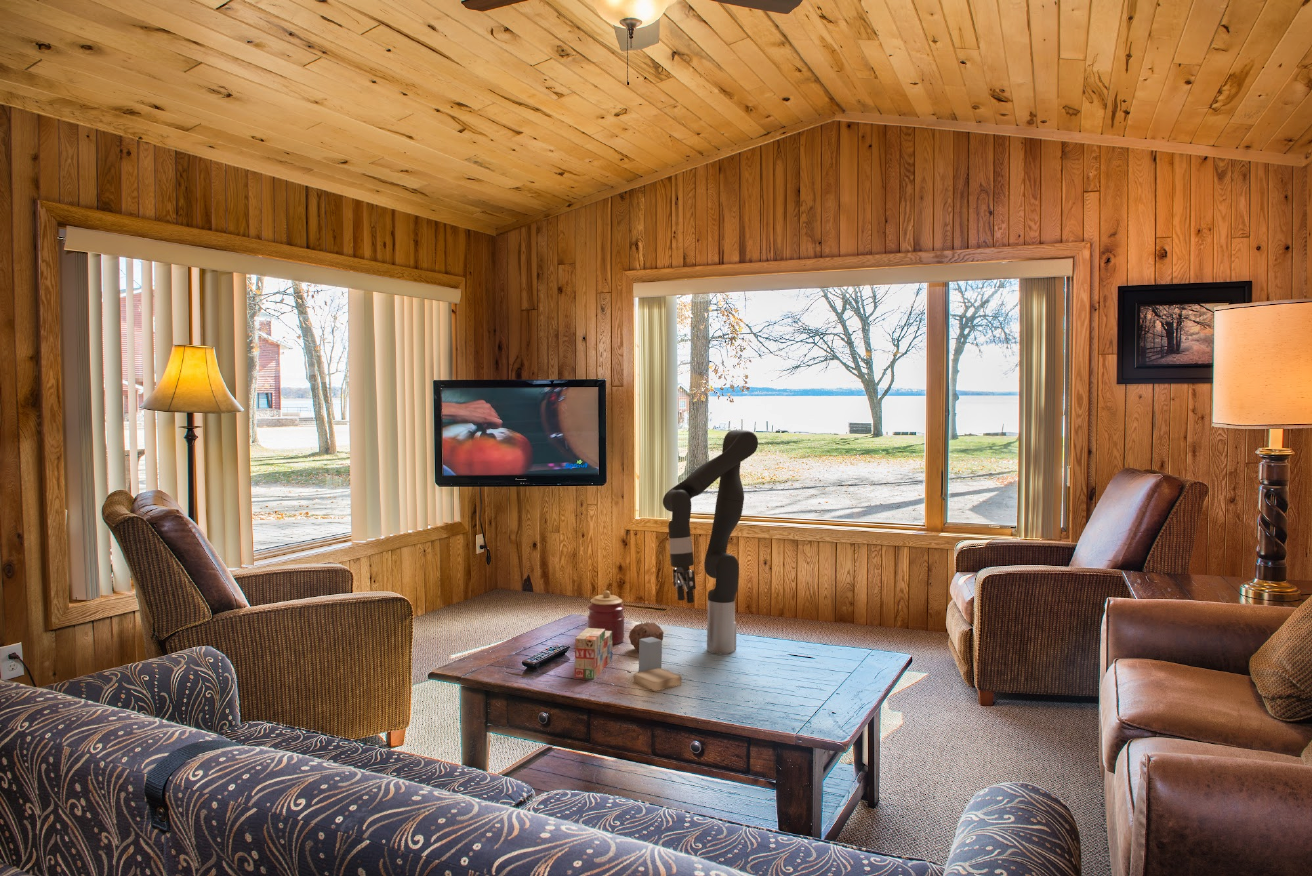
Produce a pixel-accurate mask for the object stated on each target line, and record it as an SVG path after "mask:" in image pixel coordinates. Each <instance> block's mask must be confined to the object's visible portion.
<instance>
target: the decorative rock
mask: <svg viewBox="0 0 1312 876" xmlns="http://www.w3.org/2000/svg"><path fill="white" fill-rule="evenodd" d="M649 637H654V638H657V639H660V640H662V641H663V640H664V631H663V629H662V628H661V627H660V625H658V624H657V623H656V622H650V621H646V622H645V623H644V622H641V623H639V624H638V623H637V624H635V625H634V627H632V629H631V630H630V632H629V635H628V638H629V642H630V645H632V646H633V648H634V650H635V652H639V639H643V638H649Z"/></svg>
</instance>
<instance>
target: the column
mask: <svg viewBox="0 0 1312 876" xmlns="http://www.w3.org/2000/svg"><path fill="white" fill-rule="evenodd" d="M662 650H663V640H660V639H657V638H654V637H649V638H643V639H639V651H638V673H639V672H644V671H648V670H653V669H657V668H662V664H663V663H662V662H663V661H662V659H663V658H662V657H663V651H662Z"/></svg>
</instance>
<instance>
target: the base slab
mask: <svg viewBox="0 0 1312 876" xmlns="http://www.w3.org/2000/svg"><path fill="white" fill-rule="evenodd" d="M633 683H635V684H636V685H639V686H641V685H642V686H641V687H644V688H646V687H647V688H646V689H648V688H649V690H650V689H652V690H651V691H653V692H657V690H658V691H660V690H659V689H662V690H665V689H664V688H666V689H668V688H667V687H670V688H673V687H677V686H676V685H678V686H681V685H682V675H680V674H677V673H675V672H671V671H669V670H668V669H667V670H666V669H665V668H662V667H661V668H657V669H653V670H648V671H644V672H639V671H638V672H636V673H633Z"/></svg>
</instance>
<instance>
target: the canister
mask: <svg viewBox="0 0 1312 876" xmlns="http://www.w3.org/2000/svg"><path fill="white" fill-rule="evenodd" d="M589 601H590V604H589V605H588V606H587V610H588V615H587V628H596V629H605V631H612V646H614V645H618V643H619V644H621V643H623V642H624V639H625V618H626V616H625V615H624V610H625V608H626V607H625V605H624V604H623V599H622V598H620V597H619V596H617V595H613V594H611V591H609V590H604V591H603V592H602V594H600V595H595V596H594V597H593V598H591V599H590V600H589Z"/></svg>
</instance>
